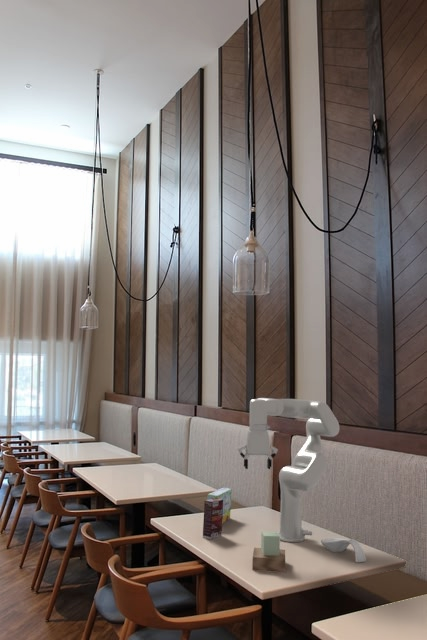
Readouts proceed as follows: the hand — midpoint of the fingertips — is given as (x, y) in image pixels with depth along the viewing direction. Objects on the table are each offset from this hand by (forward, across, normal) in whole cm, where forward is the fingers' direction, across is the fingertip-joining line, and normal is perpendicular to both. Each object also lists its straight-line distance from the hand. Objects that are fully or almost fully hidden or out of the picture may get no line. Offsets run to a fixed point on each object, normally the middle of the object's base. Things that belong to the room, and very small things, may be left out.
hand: (257, 468), depth 238 cm
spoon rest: (+33, -35, +8) cm, 49 cm away
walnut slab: (+32, -1, +24) cm, 41 cm away
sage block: (+27, -1, +24) cm, 36 cm away
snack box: (+33, +13, -39) cm, 53 cm away
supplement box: (+32, +18, -14) cm, 40 cm away
